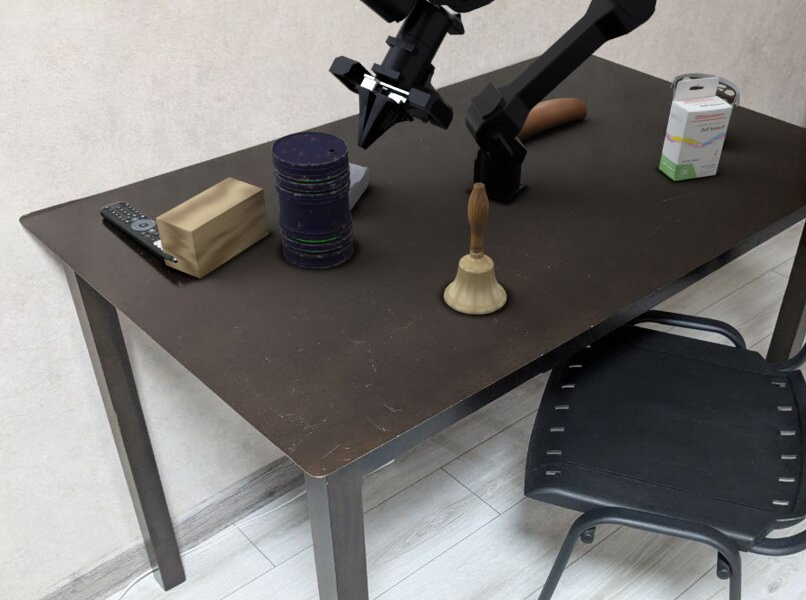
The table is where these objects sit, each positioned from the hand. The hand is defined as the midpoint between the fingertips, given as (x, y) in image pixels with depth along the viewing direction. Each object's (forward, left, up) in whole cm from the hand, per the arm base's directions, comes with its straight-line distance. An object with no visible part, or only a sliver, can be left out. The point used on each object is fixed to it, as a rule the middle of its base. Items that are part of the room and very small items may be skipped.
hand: (361, 147), depth 124 cm
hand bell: (-22, +7, -12) cm, 27 cm away
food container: (-30, -60, -12) cm, 68 cm away
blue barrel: (+2, +9, -12) cm, 15 cm away
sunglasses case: (-4, -46, -12) cm, 48 cm away
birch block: (+13, +16, -12) cm, 24 cm away
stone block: (+10, -4, -12) cm, 16 cm away
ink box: (-33, -45, -12) cm, 57 cm away
